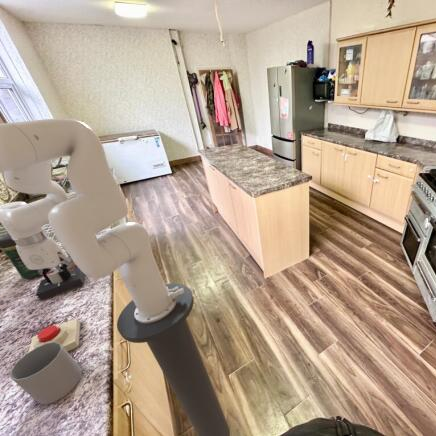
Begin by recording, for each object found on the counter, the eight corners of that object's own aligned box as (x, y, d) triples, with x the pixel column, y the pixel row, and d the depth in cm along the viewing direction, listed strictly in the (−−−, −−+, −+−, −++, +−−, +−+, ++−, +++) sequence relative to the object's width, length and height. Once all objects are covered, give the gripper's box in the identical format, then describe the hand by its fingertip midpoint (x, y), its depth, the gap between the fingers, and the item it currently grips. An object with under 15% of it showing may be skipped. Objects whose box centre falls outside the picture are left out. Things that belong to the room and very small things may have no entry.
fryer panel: (84, 272, 94) (80, 266, 93) (83, 284, 88) (79, 278, 86) (45, 286, 88) (40, 280, 87) (40, 300, 82) (35, 294, 80)
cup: (83, 360, 62) (64, 335, 57) (80, 388, 55) (58, 363, 51) (41, 380, 57) (16, 356, 53) (32, 413, 51) (3, 388, 47)
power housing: (80, 322, 72) (74, 313, 71) (78, 346, 65) (71, 337, 63) (37, 341, 67) (28, 332, 65) (29, 369, 60) (20, 360, 58)
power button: (60, 326, 67) (57, 322, 66) (59, 336, 64) (55, 332, 63) (42, 334, 65) (38, 330, 64) (39, 345, 62) (35, 341, 61)
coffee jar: (47, 274, 95) (19, 235, 86) (20, 282, 91) (-11, 242, 83) (53, 262, 102) (28, 225, 94) (28, 269, 99) (0, 231, 90)
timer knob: (68, 273, 89) (62, 265, 87) (67, 279, 86) (61, 270, 84) (53, 278, 87) (46, 270, 85) (51, 285, 84) (44, 276, 82)
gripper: (-8, 247, 74) (26, 289, 83) (50, 241, 76) (77, 283, 84) (14, 235, 81) (43, 275, 89) (66, 229, 82) (90, 269, 91)
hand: (59, 278), depth 87 cm, fingers closed on timer knob, 4 cm apart
